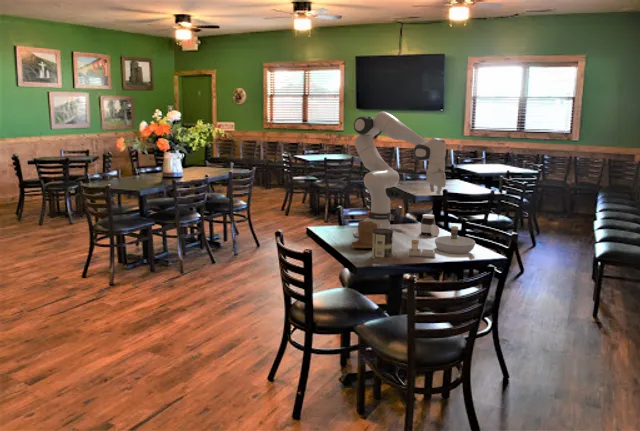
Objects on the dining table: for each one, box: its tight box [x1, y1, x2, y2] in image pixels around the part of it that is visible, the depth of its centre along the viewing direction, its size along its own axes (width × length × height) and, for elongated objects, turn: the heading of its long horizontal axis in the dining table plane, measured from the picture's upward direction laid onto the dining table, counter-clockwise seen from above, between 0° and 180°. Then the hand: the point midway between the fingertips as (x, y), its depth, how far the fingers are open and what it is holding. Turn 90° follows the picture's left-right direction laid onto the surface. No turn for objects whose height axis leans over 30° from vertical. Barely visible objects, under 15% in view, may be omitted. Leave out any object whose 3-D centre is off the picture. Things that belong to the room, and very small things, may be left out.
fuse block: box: [407, 247, 437, 260], centre depth 287 cm, size 14×10×4 cm
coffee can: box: [371, 228, 394, 259], centre depth 285 cm, size 10×10×14 cm
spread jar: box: [420, 213, 440, 237], centre depth 338 cm, size 12×11×12 cm
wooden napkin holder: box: [351, 220, 377, 249], centre depth 304 cm, size 15×12×15 cm
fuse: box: [411, 239, 420, 251], centre depth 286 cm, size 4×4×8 cm
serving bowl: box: [434, 235, 476, 255], centre depth 298 cm, size 21×21×7 cm
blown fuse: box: [450, 225, 459, 241], centre depth 296 cm, size 4×4×8 cm
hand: (435, 193), depth 310 cm, fingers open, 8 cm apart
